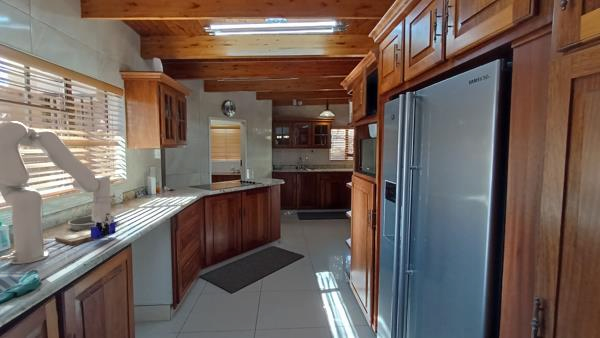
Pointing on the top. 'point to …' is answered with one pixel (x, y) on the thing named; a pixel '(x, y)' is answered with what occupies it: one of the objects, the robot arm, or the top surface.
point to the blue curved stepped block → (97, 234)
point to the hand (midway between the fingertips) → (102, 234)
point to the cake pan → (84, 223)
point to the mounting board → (75, 237)
